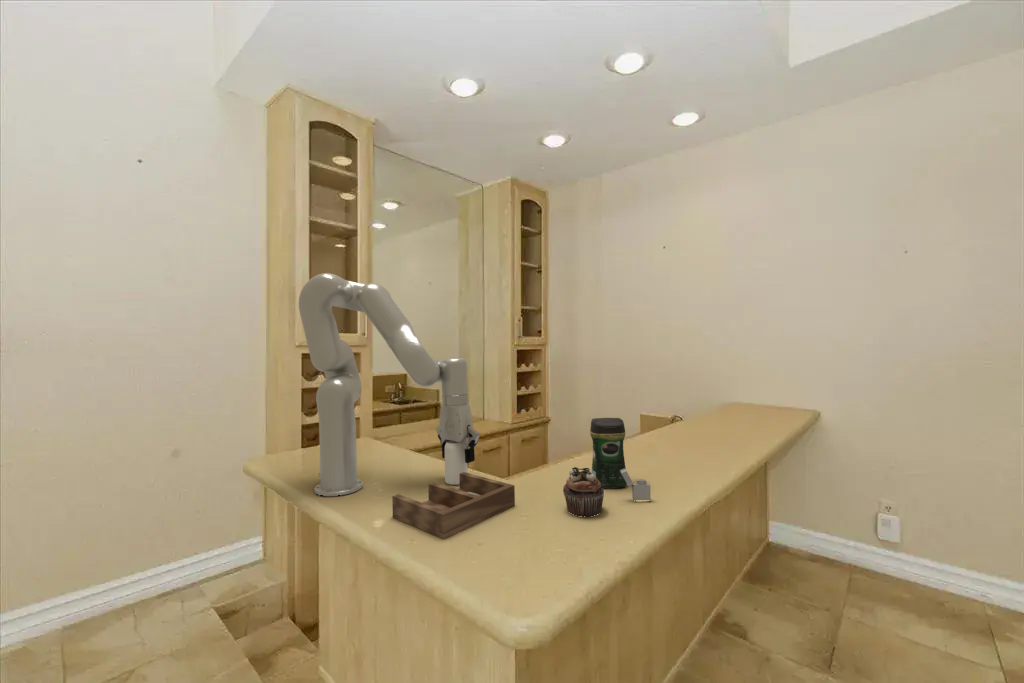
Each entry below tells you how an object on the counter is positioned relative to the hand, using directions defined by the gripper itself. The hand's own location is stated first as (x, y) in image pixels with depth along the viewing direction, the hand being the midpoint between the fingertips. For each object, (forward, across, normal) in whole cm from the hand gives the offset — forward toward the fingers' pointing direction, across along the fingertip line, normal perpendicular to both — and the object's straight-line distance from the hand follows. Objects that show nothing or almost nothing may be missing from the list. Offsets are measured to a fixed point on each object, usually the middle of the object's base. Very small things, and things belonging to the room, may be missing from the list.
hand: (458, 459), depth 126 cm
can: (+7, -1, -1) cm, 7 cm away
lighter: (+8, +46, +16) cm, 50 cm away
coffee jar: (+8, +35, +23) cm, 43 cm away
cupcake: (+7, +39, +3) cm, 40 cm away
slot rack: (+6, +15, -16) cm, 23 cm away
